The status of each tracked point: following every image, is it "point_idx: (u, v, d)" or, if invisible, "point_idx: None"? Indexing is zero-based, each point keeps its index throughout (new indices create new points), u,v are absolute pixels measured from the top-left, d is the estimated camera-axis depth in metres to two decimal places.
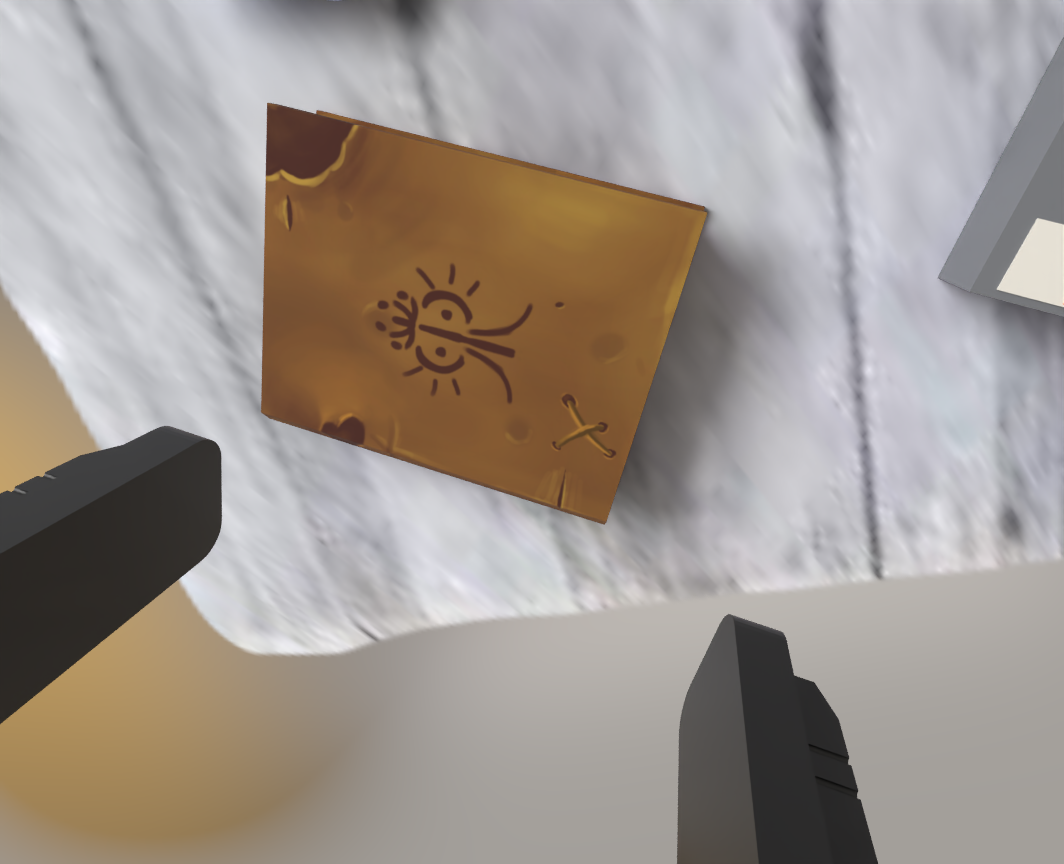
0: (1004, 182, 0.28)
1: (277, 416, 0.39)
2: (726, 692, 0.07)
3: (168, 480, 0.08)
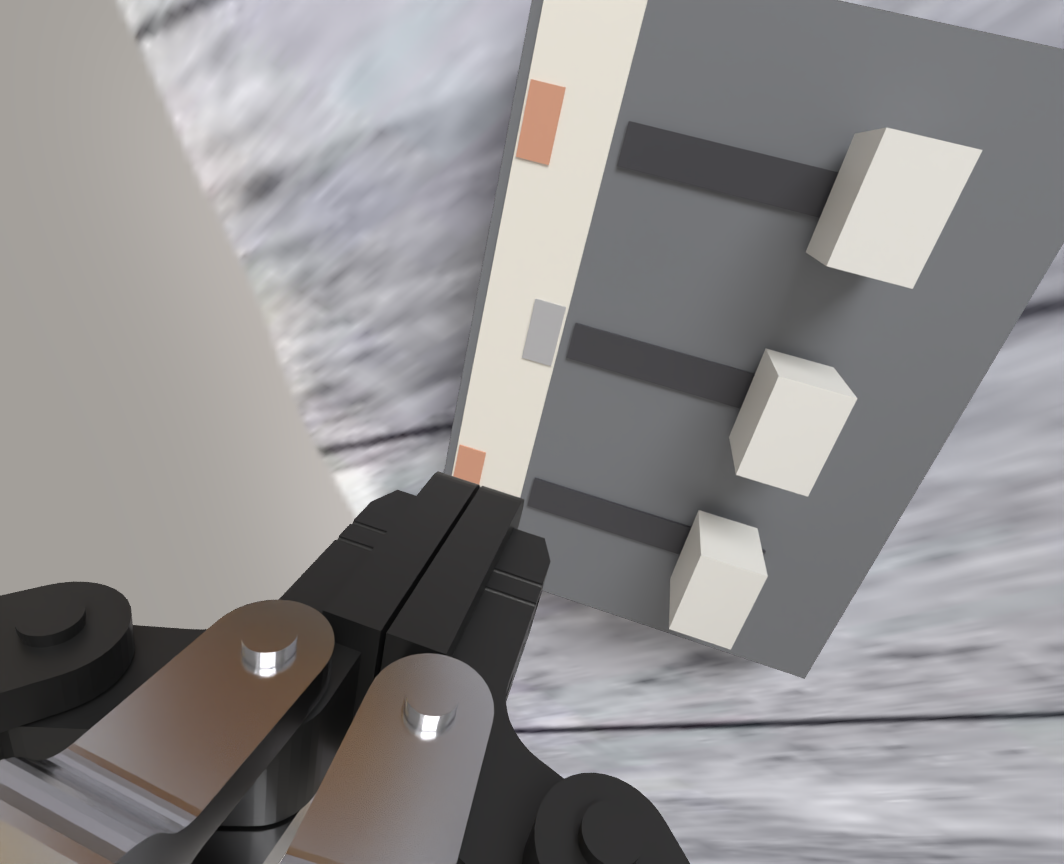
0: None
1: None
2: None
3: None
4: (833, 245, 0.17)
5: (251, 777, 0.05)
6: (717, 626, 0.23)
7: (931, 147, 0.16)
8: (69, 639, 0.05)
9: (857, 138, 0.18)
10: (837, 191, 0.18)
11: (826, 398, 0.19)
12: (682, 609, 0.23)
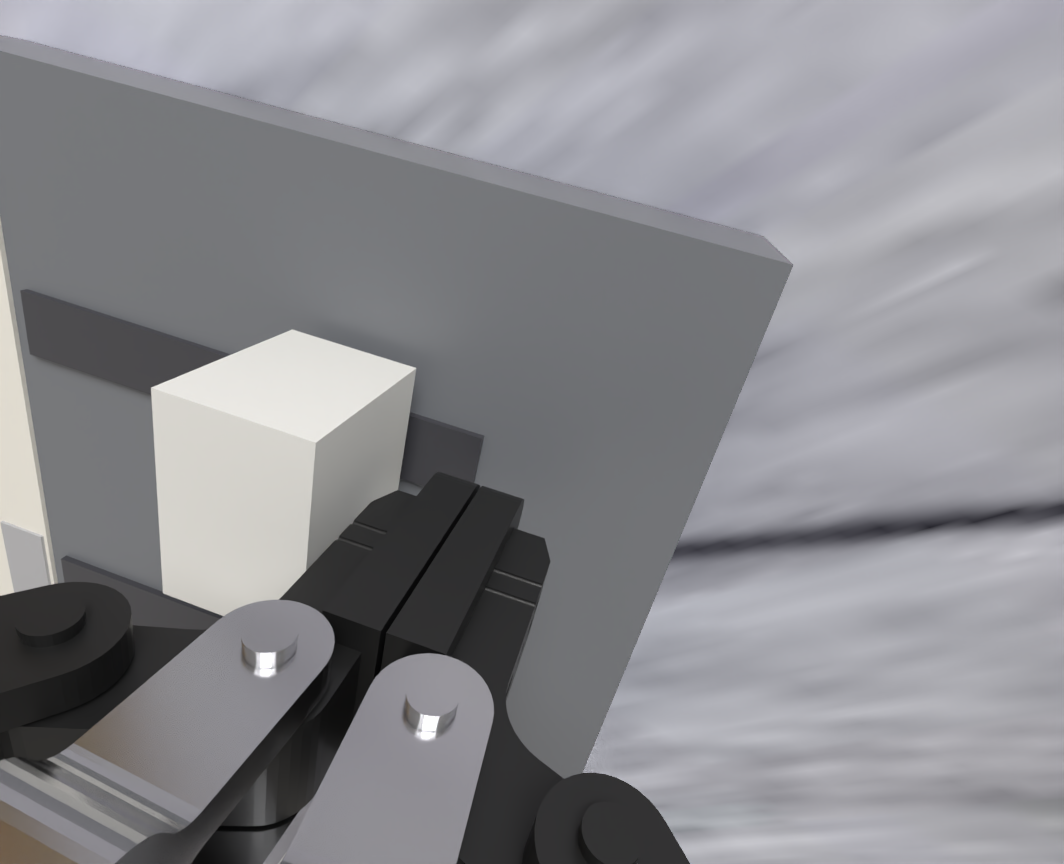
0: (138, 76, 0.13)
1: None
2: None
3: None
4: (168, 560, 0.09)
5: (251, 777, 0.05)
6: None
7: (234, 428, 0.08)
8: (69, 638, 0.05)
9: None
10: None
11: None
12: None
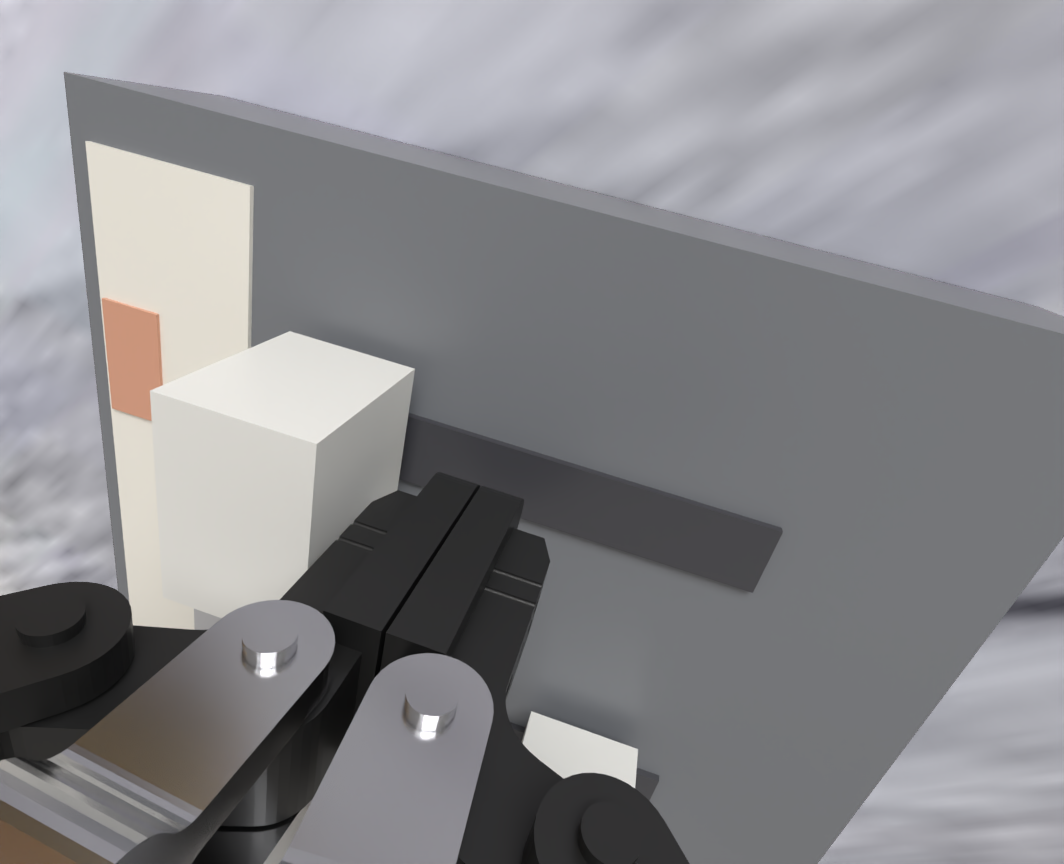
0: (384, 144, 0.12)
1: None
2: None
3: None
4: (168, 563, 0.09)
5: (252, 777, 0.05)
6: None
7: (234, 431, 0.08)
8: (70, 640, 0.05)
9: None
10: None
11: None
12: None
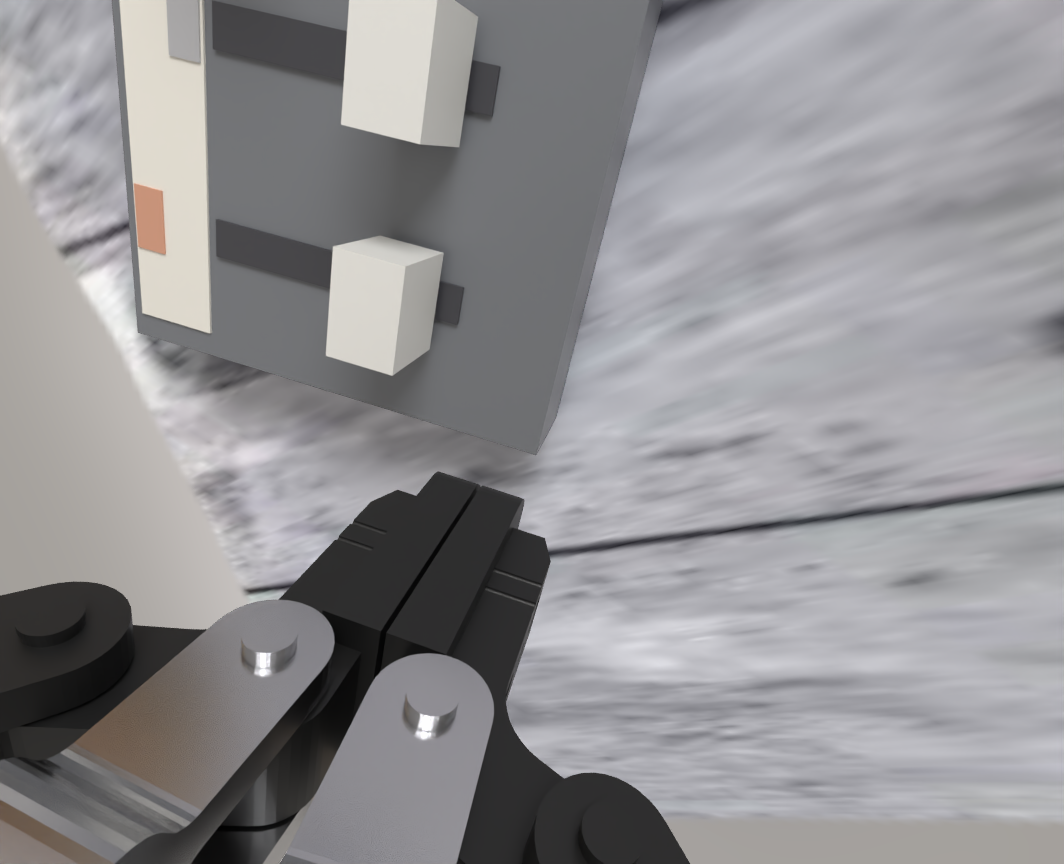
0: None
1: None
2: None
3: None
4: None
5: (251, 777, 0.05)
6: (372, 345, 0.20)
7: None
8: (68, 639, 0.05)
9: None
10: None
11: None
12: (331, 325, 0.20)
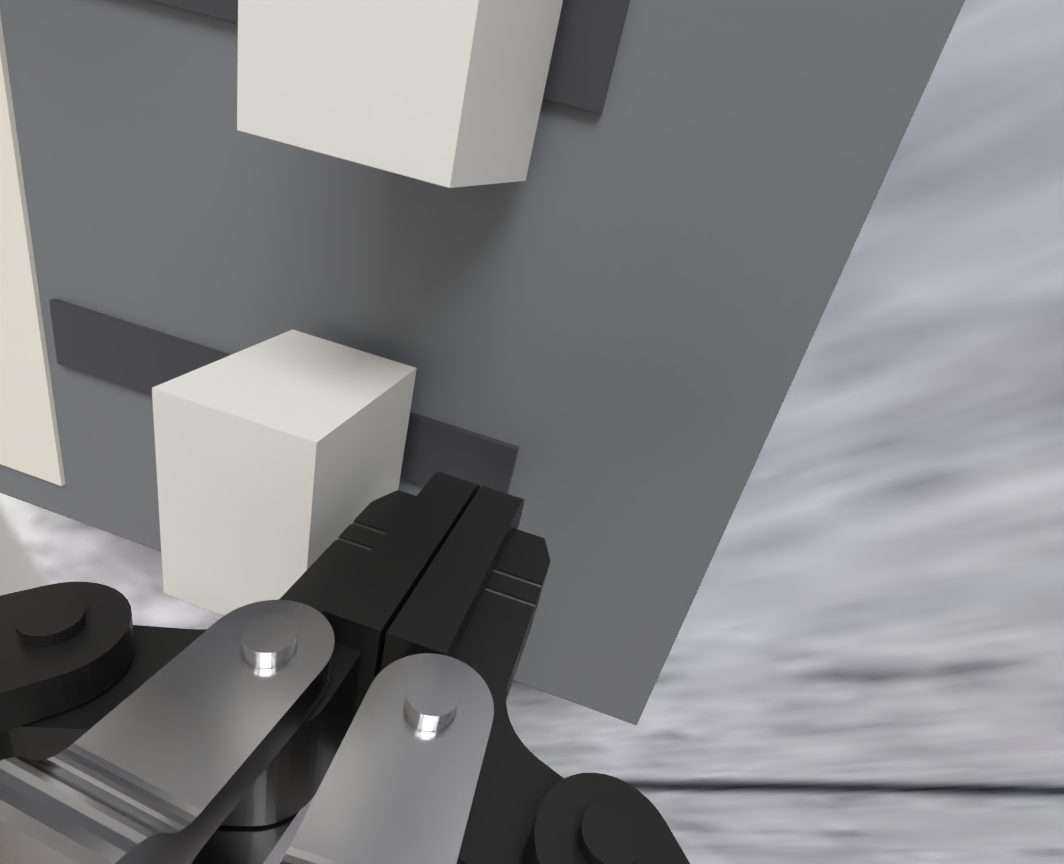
0: None
1: None
2: None
3: None
4: None
5: (251, 777, 0.05)
6: (255, 586, 0.09)
7: None
8: (68, 639, 0.05)
9: None
10: None
11: None
12: (169, 542, 0.09)
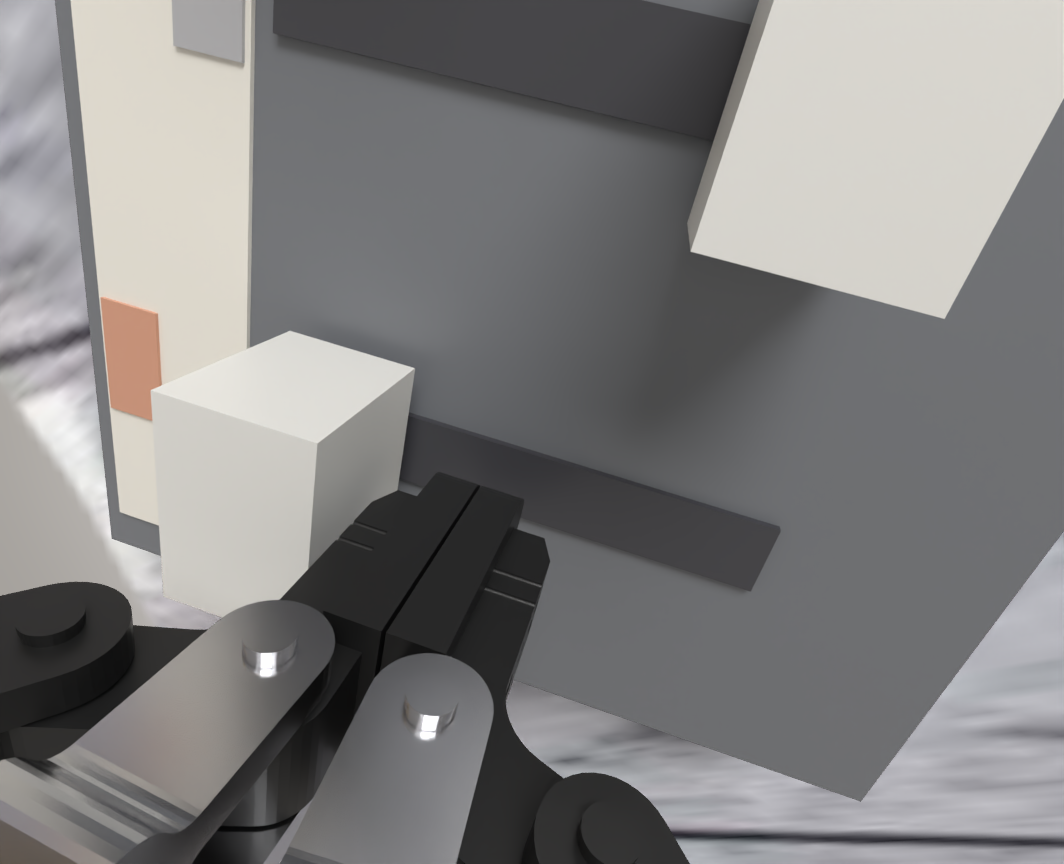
0: None
1: None
2: None
3: None
4: None
5: (251, 777, 0.05)
6: (256, 588, 0.09)
7: None
8: (69, 640, 0.05)
9: None
10: None
11: None
12: (168, 544, 0.09)
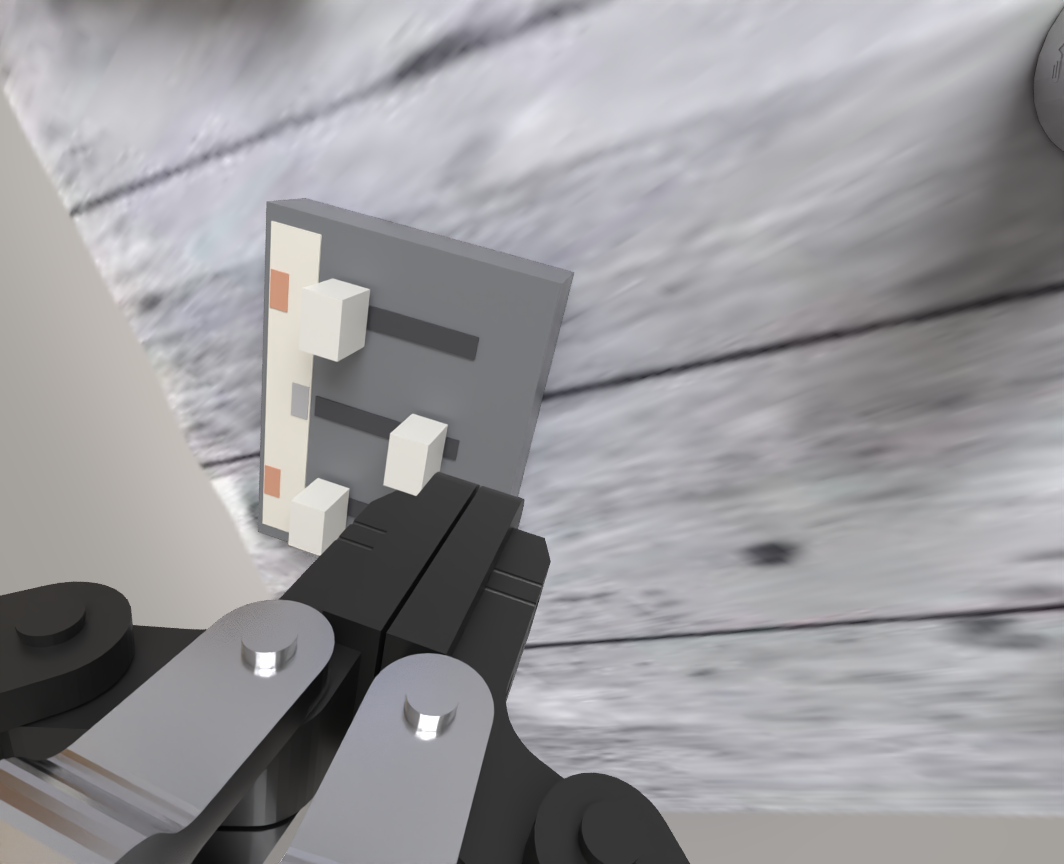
0: (361, 219, 0.37)
1: None
2: None
3: None
4: (300, 340, 0.34)
5: (251, 777, 0.05)
6: (310, 542, 0.40)
7: (322, 297, 0.33)
8: (69, 640, 0.05)
9: None
10: None
11: (414, 445, 0.35)
12: (291, 532, 0.40)
